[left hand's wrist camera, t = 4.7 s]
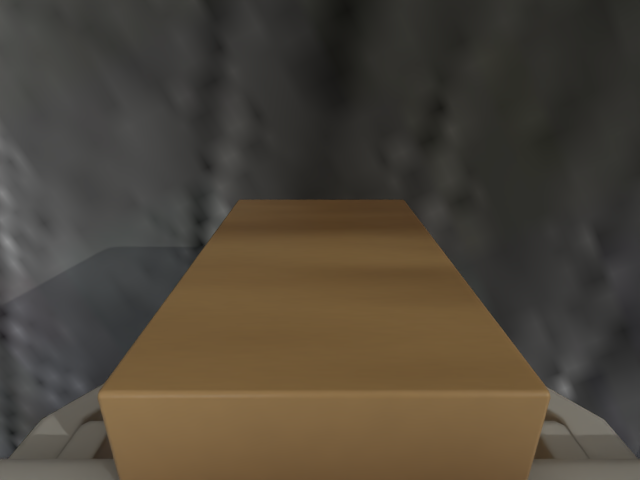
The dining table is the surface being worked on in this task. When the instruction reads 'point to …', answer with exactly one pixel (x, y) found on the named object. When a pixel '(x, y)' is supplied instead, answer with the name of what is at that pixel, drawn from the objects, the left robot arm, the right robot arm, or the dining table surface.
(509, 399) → the bar
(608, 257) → the dining table surface
